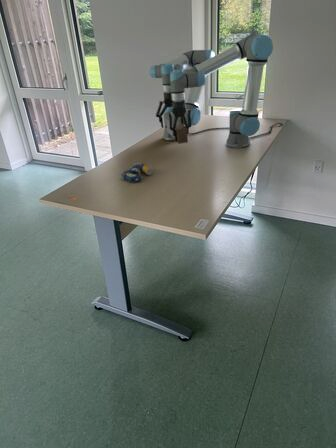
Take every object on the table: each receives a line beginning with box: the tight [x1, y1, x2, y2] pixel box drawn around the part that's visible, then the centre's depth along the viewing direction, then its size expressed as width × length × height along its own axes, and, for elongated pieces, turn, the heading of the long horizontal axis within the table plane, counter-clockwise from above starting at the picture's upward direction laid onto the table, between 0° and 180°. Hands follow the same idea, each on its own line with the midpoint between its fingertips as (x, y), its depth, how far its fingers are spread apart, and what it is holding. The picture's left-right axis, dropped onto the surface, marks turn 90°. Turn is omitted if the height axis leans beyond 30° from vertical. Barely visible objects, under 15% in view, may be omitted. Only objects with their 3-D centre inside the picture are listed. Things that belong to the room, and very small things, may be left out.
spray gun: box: [120, 162, 154, 183], centre depth 191 cm, size 21×4×15 cm
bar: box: [166, 117, 189, 145], centre depth 209 cm, size 28×6×9 cm, turn 14°
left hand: (172, 125), depth 219 cm, fingers open, 13 cm apart
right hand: (181, 140), depth 202 cm, fingers closed on bar, 6 cm apart
